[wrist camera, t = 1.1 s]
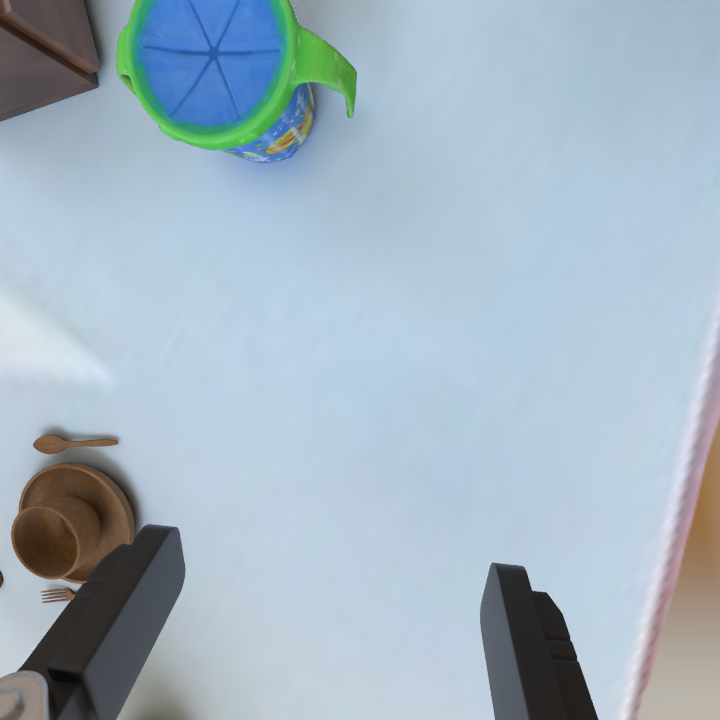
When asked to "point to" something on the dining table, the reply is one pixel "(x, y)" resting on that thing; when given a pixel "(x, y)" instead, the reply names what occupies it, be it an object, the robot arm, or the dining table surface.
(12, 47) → the cabinet
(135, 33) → the snack cup
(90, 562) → the place setting
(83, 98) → the dining table surface
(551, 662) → the robot arm
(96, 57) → the drawer
